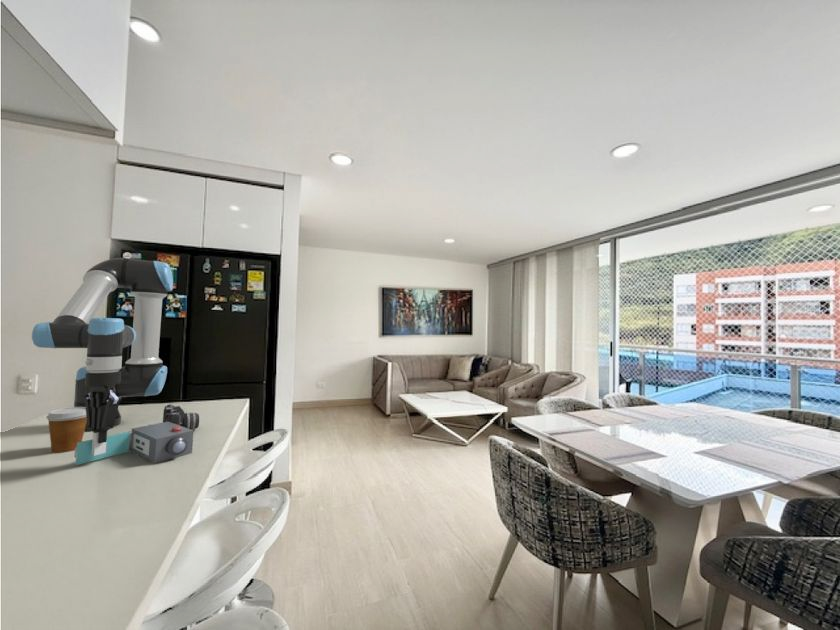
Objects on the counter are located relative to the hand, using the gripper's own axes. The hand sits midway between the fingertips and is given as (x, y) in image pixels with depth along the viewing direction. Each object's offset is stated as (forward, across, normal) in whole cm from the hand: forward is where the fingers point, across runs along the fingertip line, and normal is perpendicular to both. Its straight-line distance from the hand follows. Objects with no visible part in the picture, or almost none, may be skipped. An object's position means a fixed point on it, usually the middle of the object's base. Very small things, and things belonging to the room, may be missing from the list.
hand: (98, 453), depth 96 cm
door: (+2, -2, +3) cm, 4 cm away
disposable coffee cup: (+2, -21, +3) cm, 21 cm away
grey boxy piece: (+3, +8, +12) cm, 15 cm away
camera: (+3, -5, +27) cm, 28 cm away
